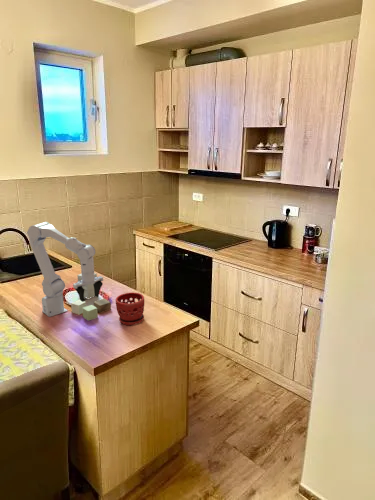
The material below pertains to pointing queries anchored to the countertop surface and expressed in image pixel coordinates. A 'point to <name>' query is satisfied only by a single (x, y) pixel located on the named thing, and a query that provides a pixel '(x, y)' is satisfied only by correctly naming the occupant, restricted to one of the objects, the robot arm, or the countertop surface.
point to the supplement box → (87, 287)
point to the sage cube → (90, 312)
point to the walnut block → (102, 305)
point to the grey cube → (78, 307)
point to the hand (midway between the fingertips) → (89, 298)
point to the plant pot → (130, 308)
